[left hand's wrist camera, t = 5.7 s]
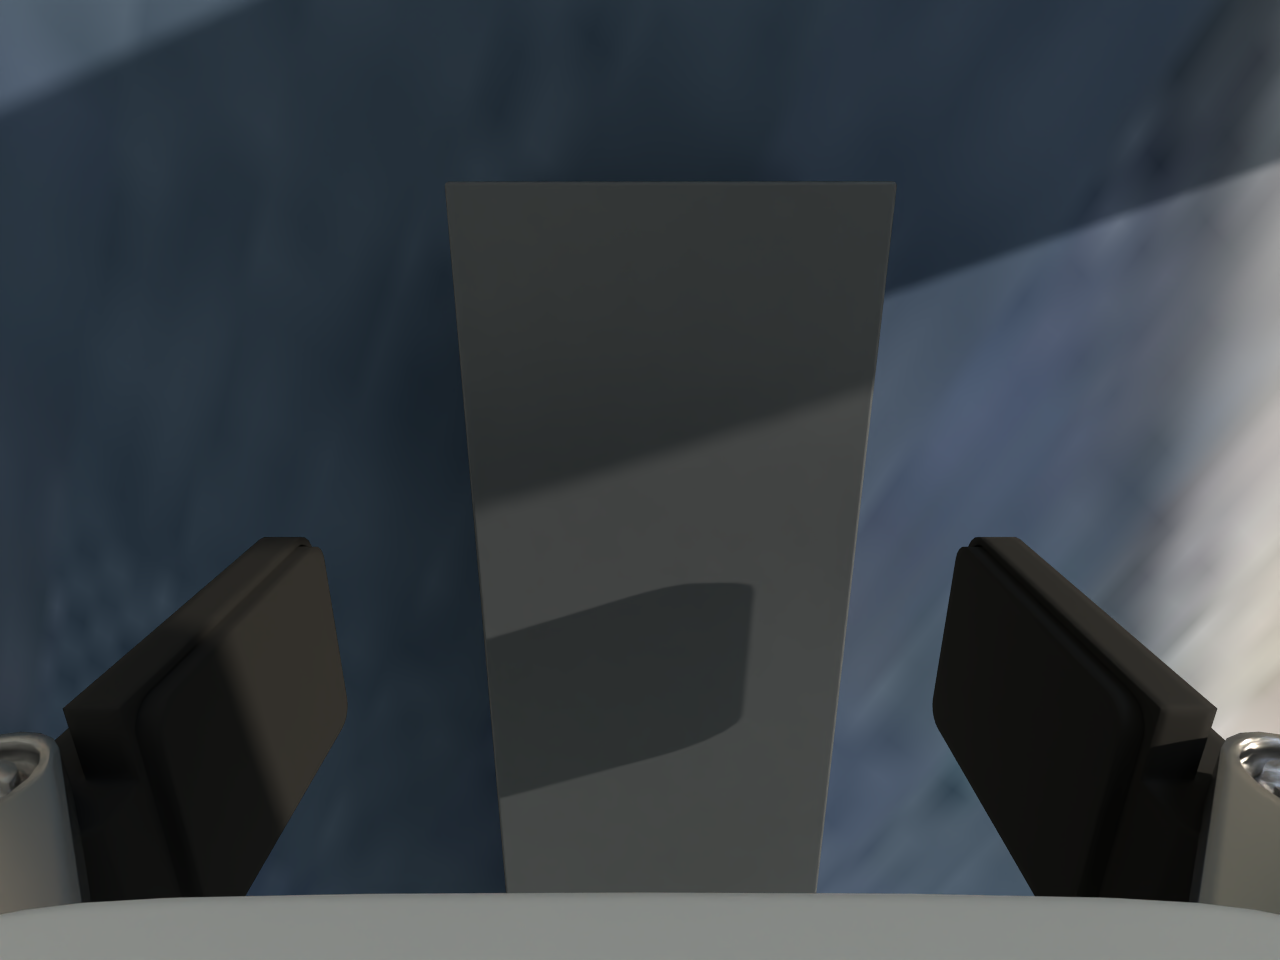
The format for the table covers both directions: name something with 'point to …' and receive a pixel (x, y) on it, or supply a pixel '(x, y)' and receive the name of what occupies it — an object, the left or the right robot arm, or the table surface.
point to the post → (666, 515)
